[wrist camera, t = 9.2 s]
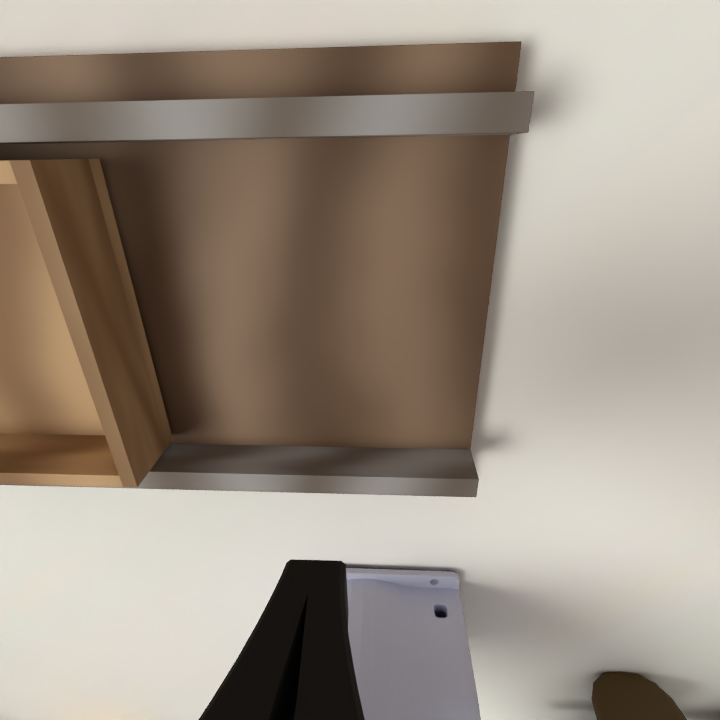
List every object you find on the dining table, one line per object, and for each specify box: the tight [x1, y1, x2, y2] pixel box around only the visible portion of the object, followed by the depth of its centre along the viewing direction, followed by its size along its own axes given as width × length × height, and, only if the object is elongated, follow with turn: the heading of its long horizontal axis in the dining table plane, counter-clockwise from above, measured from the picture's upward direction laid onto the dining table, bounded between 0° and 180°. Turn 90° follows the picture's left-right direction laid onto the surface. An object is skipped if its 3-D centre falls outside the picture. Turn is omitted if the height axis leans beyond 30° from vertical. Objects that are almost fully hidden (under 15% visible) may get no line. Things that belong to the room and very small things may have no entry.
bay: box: [0, 42, 534, 497], centre depth 16 cm, size 26×18×6 cm
